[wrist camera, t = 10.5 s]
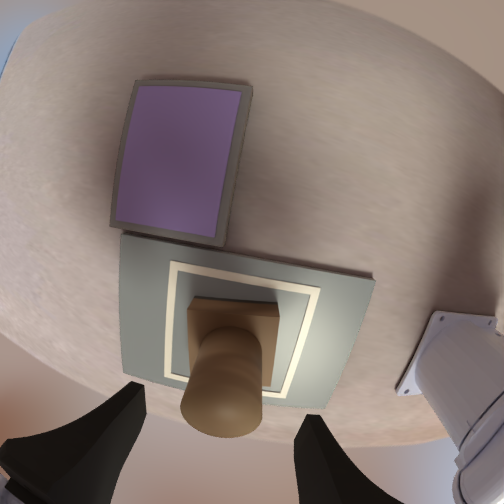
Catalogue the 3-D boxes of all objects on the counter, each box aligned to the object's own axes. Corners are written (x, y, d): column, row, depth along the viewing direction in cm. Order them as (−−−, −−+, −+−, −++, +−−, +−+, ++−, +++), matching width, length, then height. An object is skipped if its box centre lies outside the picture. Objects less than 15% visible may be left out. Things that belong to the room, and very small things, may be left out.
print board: (373, 278, 16) (376, 281, 16) (323, 404, 19) (325, 409, 18) (124, 232, 16) (120, 234, 15) (125, 369, 19) (122, 373, 18)
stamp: (277, 302, 16) (288, 376, 9) (269, 368, 17) (273, 449, 11) (194, 295, 16) (157, 363, 9) (196, 361, 17) (170, 437, 11)
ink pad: (253, 93, 14) (252, 85, 12) (225, 243, 16) (221, 248, 15) (143, 86, 14) (134, 79, 12) (118, 223, 16) (107, 227, 14)
